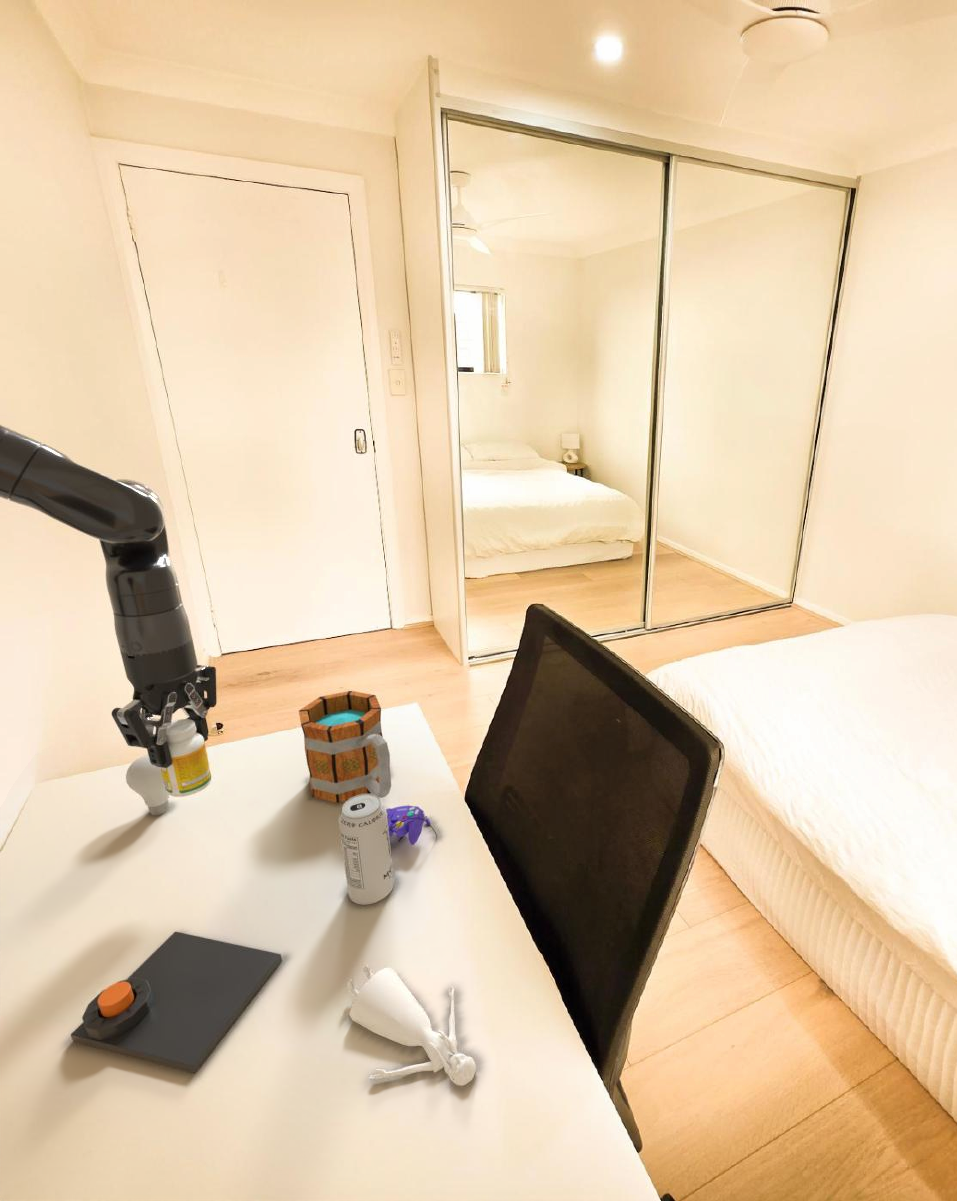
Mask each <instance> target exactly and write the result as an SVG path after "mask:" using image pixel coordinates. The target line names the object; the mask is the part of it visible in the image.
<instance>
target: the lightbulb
mask: <svg viewBox="0 0 957 1201" xmlns="http://www.w3.org/2000/svg"><path fill="white" fill-rule="evenodd" d="M125 780H126V784H127V786H128V787H129V788H130V789H131V790H132V791H134V792H135V793H136V794H138V795H139V796H140V797H141V798H142V799H143V801H144V804H145V806H147V808H148V810H149V813H150V815H151V816H160V815H163V814H165V813H166V812H168V811H169V810H170V802H169V798H170V795H169V794H168V793H167V792H166V790H165V786H164V781H163V777H162V773H161V768H160V767H156V766H155V765H152V764H151V763H150V759H149V755H148V754H145V755H143V756H140V757H138V758H136V760H134V761H132V763H131V764H130V765H129V767H128V769H127V770H126V773H125Z"/></svg>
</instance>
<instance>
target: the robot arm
mask: <svg viewBox="0 0 957 1201" xmlns="http://www.w3.org/2000/svg"><path fill="white" fill-rule="evenodd" d="M0 498H2V499H5V500H9V502H12V503H15V504H18V505H22V506H25V507H28V508H31V509H33V510H36V511H38V512H40V513H42V514H44V515H46V516H48V517H49V518H52V519H53V520H56V521H58V522H60V523H62V524H64V525H66V526H67V527H70V528H72V529H74V530H76V531H79V532H81V533H83V534H85V535H87V536H89V537H91V538H94V539H97V540H99V544H100V547H101V550H102V554H103V558H104V561H105V562H104V563H105V583H106V584H105V585H106V589H107V593H108V597H109V600H110V605H111V609H112V613H113V622H114V623H113V624H114V632H115V636H116V640H117V644H118V648H119V652H120V656H121V660H122V664H123V668H124V673H125V676H126V678H127V680H128V681H129V682H130V684H131V685H132V687H133V694H132V701H130V702H129V703H128V704H126V705H124V706H123V707H115V708H113V709H112V711H111V717H112V719H113V720H114V722H115V725H116V726H117V728H118V729H119V731H120V733H121V735H122V737H123V739H124V741H125V743H126V745H127V746H128V747H135V748H142V749H146V750H147V755H149V759H150V763H151V764H152V765H155V766H156V767H162V768H168V767H169V766H170V765H172V759H171V754H170V750H169V746H168V742H167V741H165V740H166V732H167V727H168V726H170V725H171V722H172V721H173V715H174V714H175V713H176V712H177V711H178V710H180V709H181V711H182V712H183V713H184V715H185V716H187V717H186V718H185V719H190V720H193V721H194V722H195V726H196V732H197V733H199V734H201V735H202V736H203V738H204V741H205V742H207V741H208V740H209V737H208V736H209V733H210V731H209V726H208V721H207V716H208V714H209V713H208V711H209V710H210V709H211V708H215V707H216V705H217V702H218V701H217V700H218V699H217V669H216V667H215V666H211V665H203V664H198V659H197V654H196V649H195V645H194V644H195V643H194V639H193V635H192V629H191V625H190V620H189V616H188V613H187V611H186V609H185V605H184V603H183V598H182V593H181V587H180V584H179V580H178V576H177V573H176V570H175V567H174V564H173V562H172V558H171V553H170V545H169V540H168V538H169V537H168V532H167V531H168V530H167V525H166V520H165V511H164V506H163V503H162V500H161V499H160V497H159V496H158V494H157V493H156V492H155V491H154V490H153V489H152V488H151V487H149V486H148V485H147V484H144V483H142V482H140V481H136V480H132V479H126V478H119V479H113V478H111V477H109V476H106V475H105V474H102V473H99V472H97V471H95V470H93V469H91V468H88V467H86V466H83V465H80V464H78V463H77V462H75V461H74V460H73V459H71V458H70V457H69V456H68V455H66V454H65V453H63V452H61V451H59V450H58V449H56V448H53V447H52V446H50V445H47V444H45V443H43V442H41V441H38V440H36V439H35V438H32V437H29V436H28V435H25V434H23V433H20V432H18V431H15V430H13V429H11V428H9V427H6V426H5V425H1V424H0ZM205 693H206V697H205ZM154 716H158V717H159V718H156V717H154ZM154 728H155V732H154Z"/></svg>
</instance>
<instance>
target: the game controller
mask: <svg viewBox="0 0 957 1201" xmlns="http://www.w3.org/2000/svg"><path fill="white" fill-rule="evenodd" d="M386 811H387V820H388V829H389V838H390V837H392V835H394V834H395V835H396V836H397V837H398V838H399V840H398V841H397V842H398V843H399V842H401V840H402V839H403V837H404V836H406V835H407V837H408V842H409V843H410V845H415V844H416V843H417V842H418V840H419V837H420V836H421V835H422V831H423V826H424V823H426V826H429V827H430V828H431V829H432V831H433V832H434V834H435V836H436V837H438V834H437V832H436V831H435V829H434V827H433V826H432V825H431V821H430V819H429V818H428V816H427V815H426V814H425V812H424V810H423V809H421V808H420V807H419V806H417V805H416V806H415V805H401V806H396V807H393V808H386Z"/></svg>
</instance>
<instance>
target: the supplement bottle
mask: <svg viewBox="0 0 957 1201" xmlns="http://www.w3.org/2000/svg"><path fill="white" fill-rule="evenodd" d="M165 741H167V742H168V746H169V750H170V754H171V759H172V765H170V766H169V767H168V768H162V767H160V768H161V773H162V777H163V781H164V786H165V790H166V792H167V793H168V794H169V797H175V798H181V797H189V796H192V795H195V794H197V793H200V792H202V791H204V790H205V789H206V788H207V787H208V786H209V785H210V784H211V782H212V772H211V768H210V762H209V757H208V752H207V746H206V741H204V738H203V736H202V735H201V734H199V733H197V732H196V726H195V722H194V721H193V720H190V719H186V718H181V719H176V720H172V721H171V725H170V726H168V727H167V732H166V740H165Z"/></svg>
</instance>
